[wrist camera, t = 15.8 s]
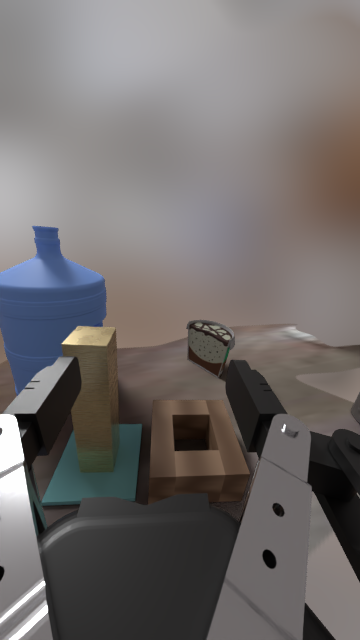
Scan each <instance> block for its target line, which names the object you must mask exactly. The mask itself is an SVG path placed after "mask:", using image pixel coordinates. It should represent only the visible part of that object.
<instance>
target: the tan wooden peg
mask: <svg viewBox="0 0 360 640" xmlns="http://www.w3.org/2000/svg"><path fill="white" fill-rule="evenodd" d="M116 345H117V344H116V328H110V327H90V326H78V327H77V328H76V329H75V330H74V331H73V332H72V333H71V334H70V335H69V336H68V337H67V338H66V340H65V341H64V342H63V343H62V344H61V346H62V353H63V356H75V357H77V358H78V361H79V367H80V373H81V380H82V385H81V390H80V393H79V395H78V397H77V399H76V401H75V403H74V405H73V407H72V409H71V414H72V421H73V428H74V434H75V441H76V448H77V455H78V462H79V469H80V473H95V472H114V467H115V463H116V458H117V453H118V448H119V444H120V435H119V405H118V374H117V346H116Z"/></svg>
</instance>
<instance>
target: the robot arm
mask: <svg viewBox="0 0 360 640" xmlns="http://www.w3.org/2000/svg"><path fill="white" fill-rule="evenodd" d="M81 385H82V380H81V373H80V367H79V361H78V358H77V357H75V356H60V357H59V358H58V359H57V360H56V362H55V363H54V364H53V365H52V366H47V367H46V368H44V369H43V370H41V371H39V372H38V373H37V374H36V375H35V376H34V377H33V379H32V380H31V382H29V383H28V384H27V386H26V387H25V389H23V390H22V391H21V393H20V394H19V395H18V396H17V397H16V398H15V400H14V401H13V402H12V403H11V404H10V405H9V406H8V408H7V409H6V410H5V411H4V412H3V413H2V415H0V640H335V639H334V637H333V636H332V635H331V634H330V632H329V631H328V630H327V629H326V627H325V626H324V625H323V624H322V622H321V621H320V620H319V619H318V618H317V616H316V615H315V614H314V613H313V611H312V610H311V609H310V608H309V607H308V605H307V604H306V603H305V591H306V590H305V589H306V573H307V560H308V544H309V529H310V514H311V498H312V491H313V492H314V493H315V495H316V497H317V499H318V501H319V503H320V505H321V507H322V509H323V511H324V513H325V515H326V517H327V519H328V521H329V523H330V525H331V527H332V529H333V531H334V532H335V534H336V536H337V538H338V540H339V542H340V544H341V546H342V548H343V550H344V552H345V554H346V556H347V558H348V560H349V562H350V564H351V566H352V568H353V570H354V572H355V574H356V576H357V578H358V580H359V582H360V498H359V497H358V495H357V494H356V493H357V492H358V494H359V495H360V435H358V434H356V433H354V432H352V431H349V430H345V429H338V430H336V431H335V432H334V433H333V435H332V437H330V436H326V435H322V434H319V433H315V432H312V431H309V429H308V428H307V427H306V425H305V424H304V423H303V422H301V421H300V420H299V419H297V418H295V417H293V416H291V415H288V414H287V412H286V411H285V409H284V408H283V406H282V405H281V403H280V402H279V400H278V398H277V397H276V395H275V394H274V392H273V391H272V389H271V388H270V386H269V385H268V383H267V381H266V380H265V378H264V377H263V376H262V375H261V374H260V373H259V372H257V371H256V370H251V368H250V367H249V365H248V363H247V362H246V361H245V360H231V361H230V364H229V369H228V374H227V379H226V394H227V397H228V399H229V402H230V405H231V408H232V410H233V413H234V416H235V419H236V421H237V424H238V427H239V430H240V432H241V435H242V438H243V441H244V443H245V446H246V449H247V452H257V455H258V457H259V459H258V462H257V465H256V469H255V472H254V475H253V478H252V481H251V484H250V488H249V491H248V494H247V497H246V500H245V503H244V506H243V509H242V512H241V515H240V518H239V521H237V520H236V519H235V518H234V517H232V516H231V515H230V514H229V513H227V512H226V511H224V510H222V509H221V508H218V507H216V506H214V505H211V504H209V501H208V494H207V493H196V494H177V495H174V496H171V497H168V498H166V499H163V500H160V501H157V502H154V503H152V504H149V505H142V504H138V503H135V502H131V501H128V500H124V499H121V498H117V497H89V498H82V500H81V503H80V507H79V510H76V511H74V512H72V513H69V514H67V515H65V516H64V517H62V518H60V519H59V520H57V521H56V522H54V523H53V524H52V525H50V526H49V527H47V524H46V520H45V517H44V513H43V509H42V505H41V501H40V496H39V492H38V487H37V483H36V478H35V474H34V469H33V466H32V463H33V462H34V460H35V458H36V456H44V455H48V454H49V452H50V450H51V448H52V446H53V444H54V442H55V440H56V438H57V436H58V434H59V432H60V431H61V429H62V427H63V425H64V423H65V421H66V419H67V417H68V415H69V413H70V411H71V409H72V407H73V405H74V403H75V401H76V399H77V397H78V395H79V393H80V390H81ZM351 412H352V415H353V416H354V418H355V419H356V420H357V421H358V422H359V424H360V393H359V395H358V397H357V399H356V401H355V403H354V405H353V406H352V408H351Z"/></svg>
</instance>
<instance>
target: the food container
mask: <svg viewBox="0 0 360 640" xmlns="http://www.w3.org/2000/svg"><path fill="white" fill-rule="evenodd" d="M186 329H188V359H187V360H189V361H191V362H192V363H194V364H196V365H197V366H199V367H201V368H202V369H204V370H206V371H207V372H209V373H211V374H212V375H214V376H215V377H217V378H219V377H220V376H221V374H222V372H223V369H224V366H225V363H226V360H227V357H228V353H229V350H231V349H232V348H233V347H234V345H235V337H234V333H233V331H232V330H231V329H230V328H228V327H226V326H225V325H223V324H220V323H217V322H213V321H207V320H194V321H189V323H188V324H187V328H186Z"/></svg>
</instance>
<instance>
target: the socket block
mask: <svg viewBox="0 0 360 640" xmlns="http://www.w3.org/2000/svg"><path fill="white" fill-rule="evenodd" d="M174 439H205V442H206V447H207V450H205V451H174ZM249 476H250V472H249V469H248V467H247V464H246V461H245V459H244V456H243V453H242V451H241V448H240V445H239V443H238V440H237V437H236V434H235V432H234V429H233V426H232V424H231V421H230V418H229V416H228V413H227V410H226V407H225V405H224V402H223V400H153V409H152V430H151V452H150V474H149V496H148V505H149V504H152V503H154V502H157V501H160V500H163V499H166V498H168V497H171V496H174V495H177V494H196V493H207V494H208V501H209V503H211V502H230V501H241V500H242V497H243V494H244V491H245V488H246V485H247V482H248V479H249Z"/></svg>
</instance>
